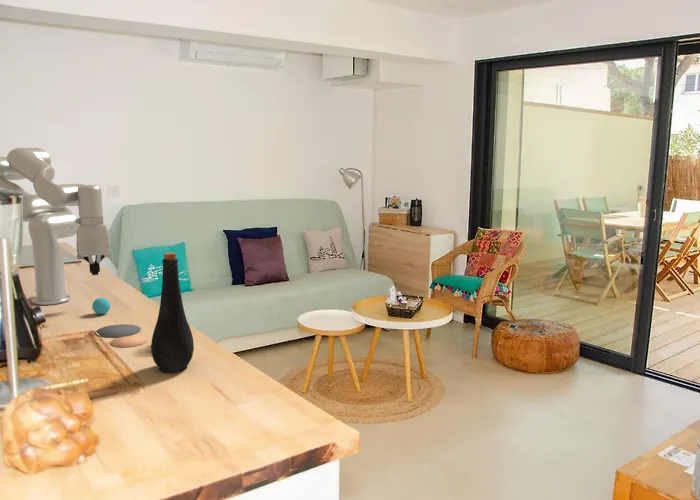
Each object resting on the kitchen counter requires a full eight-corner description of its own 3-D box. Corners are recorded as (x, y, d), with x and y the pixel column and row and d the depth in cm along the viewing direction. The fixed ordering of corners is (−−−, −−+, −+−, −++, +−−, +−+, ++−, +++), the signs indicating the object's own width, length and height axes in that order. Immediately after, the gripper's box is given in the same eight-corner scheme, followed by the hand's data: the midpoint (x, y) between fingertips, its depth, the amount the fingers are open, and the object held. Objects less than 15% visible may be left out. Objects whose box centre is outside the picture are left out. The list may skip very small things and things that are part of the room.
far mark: (103, 342, 176) (103, 341, 176) (133, 334, 184) (133, 333, 184) (123, 349, 170) (123, 349, 170) (153, 341, 178) (153, 340, 178)
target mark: (86, 331, 185) (86, 331, 185) (124, 322, 196) (124, 321, 195) (111, 340, 178) (111, 339, 178) (149, 330, 188) (149, 329, 188)
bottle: (182, 377, 151) (179, 258, 146) (143, 373, 153) (139, 255, 148) (201, 362, 161) (199, 251, 156) (164, 359, 163) (161, 248, 158)
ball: (89, 314, 204) (88, 298, 203) (104, 310, 208) (103, 295, 207) (98, 317, 201) (97, 300, 200) (114, 313, 205) (113, 297, 204)
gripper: (69, 224, 200) (73, 279, 203) (117, 221, 208) (120, 274, 211) (65, 222, 206) (69, 275, 209) (111, 219, 214) (114, 270, 217)
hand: (95, 274), depth 210 cm, fingers closed
